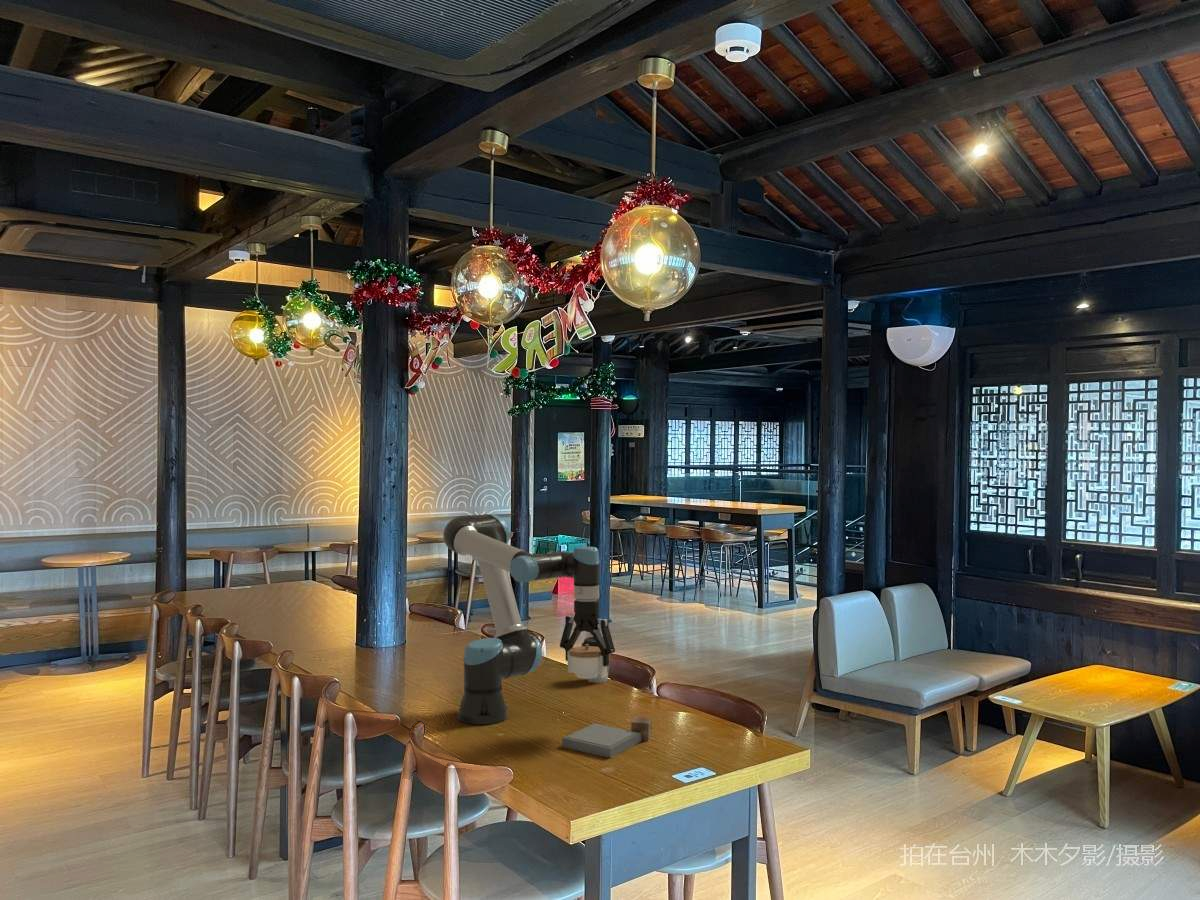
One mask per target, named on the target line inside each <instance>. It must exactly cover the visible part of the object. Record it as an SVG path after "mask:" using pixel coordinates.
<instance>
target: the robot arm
mask: <svg viewBox="0 0 1200 900" xmlns="http://www.w3.org/2000/svg"><path fill="white" fill-rule="evenodd" d="M442 537H443V543H444V544H445V545H446V547H447V548H448V549H449V550H450V551H452V552H454V553H456V554H458V555H461V556H471V559H472V560H474V561H475V562H477V563H478V567H479V570H480V575H481V578H482V581H483V586H484V589H485V593H486V598H487V600H488V605H489V609H490V612H491V615H492V620H493V623H494V628H495V632H496V633H495V635H494V637H485V638H479V639H476V640H475V639H474V640H473V641H472V640H471V642H469V643H467V644H466V645H465V648H464V656H463V662H464V663H463V666H464V667H463V671H464V672H463V675H464V677H463V696H462V698H461V702H460V705H459V708H458V711H457V718H458V721H459V722H460V723H464V724H467V725H480V726H481V725H492V724H497V723H500V722H503V721H505V720H506V719H507V718H508V716H509V715H508V711H509V710H508V707H507V705H506V701H505V698H504V694H503V680H505V679H510V678H515V677H518V676H524V675H527V674H529V673H532V672H534V671H535V670H537V669H538V667H540V666H539V665H540V662H541V661H542V656H543V654H542V653H543V651H542V650H543V649H542V645H541V642H540V640H539V639H537V637H536V636H534V635H532V634H531V633H530V630H529V627H527V626H525V625H524V624H523V623H522V622H523V621H522V619H521V616H520V612H519V609H518V604H517V600H516V596H515V593H514V589H513V586H512V582H511V579H510V576H511V577H512V579H514V581H516V582H517V583H530V582H535V581H536V582H537V581H542V580H548V579H550V580H551V579H557V578H572V579H573V599H575V600H574V601H573V612H574V615H573V614H570V615H566V616H565V619H564V621H565V624H564V627H563V628H564V629H563V631H562V634H561V635H562V636H561V638H560V643H559V647H560V648H561V649H562V648H563V649H564V651H565V662H567V674H572V673H574V672H573V671H572V669H571V666H570V661H569V650H570V649H572V648H574V645H575V643H576V642H577V640H578V638H579V637H580V635H581V633H582V632H586V633H590V635H591V636H592V637H594V639H595V641H596V643H597V645H598V647H599V649H600V651H601V653H602V655H600V678H604V677H607V666H609V667H610V662H609V654H610V655H611V654H613V653H615V652H616V648H615V645H614V644H615V643H614V641H613V638H612V634H611V631H610V627H609V621H610V619H608V618H604V619H603V618H601V617H600V615H599V614H600V601H599V599H600V553H599V549H598V548H597V547H595V546H576V547H574V549H573V552H567V551H561V550H552V551H549V552H547V553H539V554H538V553H537V554H532V553H530V552H527V551H525V550H523V549H520V548H519V547H515V546H512V545H511V544H508V543H509V541H510V539H509V537H510V530H509V526H508V524H507V522H506V521H505V520H504V519H503V518H502V517H501V516H499V515H496V514H489V513H488V514H487V513H484V514H479V515H459V516H456V517H454V518H452V519H451V520H449V521H448V523H447V524H446V525H445V527H444V529H443V535H442ZM509 573H510V575H509ZM574 623H575V626H574ZM573 626H574V628H573ZM572 630H573V631H572ZM603 638H604V639H603Z"/></svg>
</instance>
